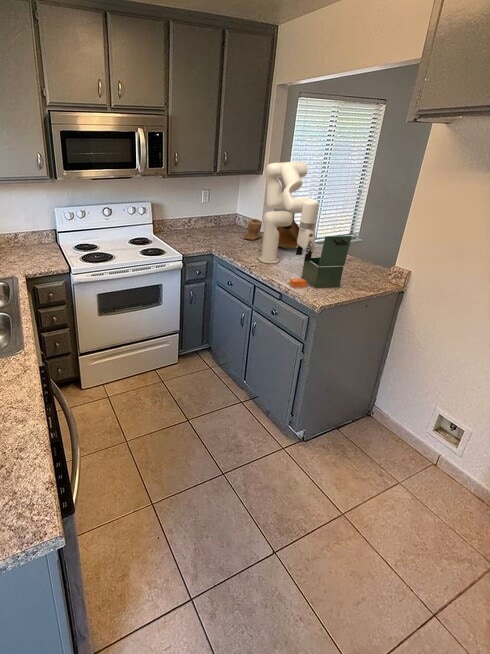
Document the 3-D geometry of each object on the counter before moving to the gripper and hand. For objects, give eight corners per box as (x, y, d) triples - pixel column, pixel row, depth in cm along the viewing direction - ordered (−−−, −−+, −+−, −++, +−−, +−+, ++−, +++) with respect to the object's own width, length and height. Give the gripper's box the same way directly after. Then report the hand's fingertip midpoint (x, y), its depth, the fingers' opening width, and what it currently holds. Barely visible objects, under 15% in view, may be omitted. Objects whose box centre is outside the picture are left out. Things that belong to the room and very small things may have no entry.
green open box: (301, 277, 202) (304, 257, 197) (324, 276, 203) (327, 256, 199) (315, 288, 187) (318, 267, 183) (339, 287, 189) (343, 266, 184)
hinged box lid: (325, 236, 176) (330, 240, 171) (351, 235, 177) (357, 239, 172) (318, 266, 183) (323, 270, 178) (343, 265, 184) (349, 269, 180)
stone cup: (255, 242, 266) (257, 222, 260) (241, 239, 273) (243, 219, 268) (264, 237, 276) (267, 218, 271) (251, 235, 284) (252, 216, 278)
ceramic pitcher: (302, 245, 259) (308, 203, 248) (299, 253, 242) (305, 209, 231) (274, 241, 266) (279, 201, 255) (269, 249, 249) (274, 206, 238)
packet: (293, 287, 189) (294, 282, 187) (289, 283, 193) (290, 278, 192) (306, 286, 189) (306, 281, 188) (302, 283, 193) (302, 278, 192)
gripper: (323, 229, 171) (318, 263, 177) (306, 221, 187) (302, 252, 193) (308, 230, 170) (303, 263, 176) (292, 222, 186) (288, 253, 193)
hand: (303, 257), depth 185 cm, fingers open, 9 cm apart
